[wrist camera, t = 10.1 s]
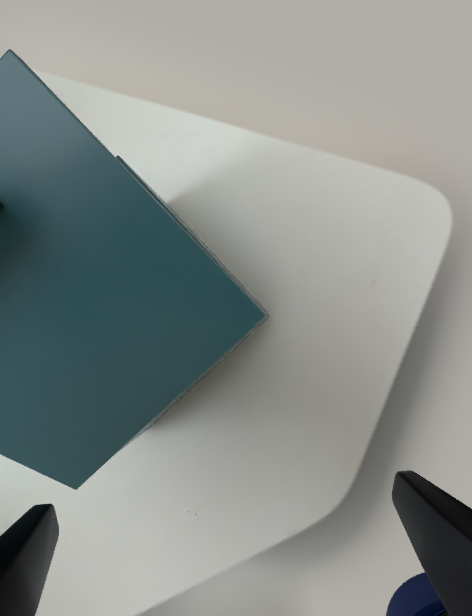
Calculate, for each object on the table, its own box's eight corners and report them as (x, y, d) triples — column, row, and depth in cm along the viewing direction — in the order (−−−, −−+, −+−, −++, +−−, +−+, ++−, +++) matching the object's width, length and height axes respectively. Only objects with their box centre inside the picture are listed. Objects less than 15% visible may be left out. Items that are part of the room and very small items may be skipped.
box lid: (-221, 326, 10) (-434, 405, 6) (20, 58, 9) (-71, -27, 6) (80, 475, 15) (54, 570, 11) (260, 308, 14) (297, 352, 10)
